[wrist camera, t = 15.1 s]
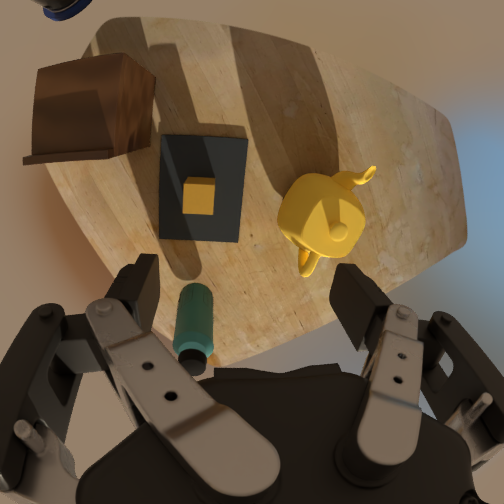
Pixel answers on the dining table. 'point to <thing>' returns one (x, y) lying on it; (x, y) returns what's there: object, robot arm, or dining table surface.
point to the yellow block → (198, 195)
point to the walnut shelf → (91, 109)
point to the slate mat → (208, 166)
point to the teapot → (323, 216)
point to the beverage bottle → (194, 328)
